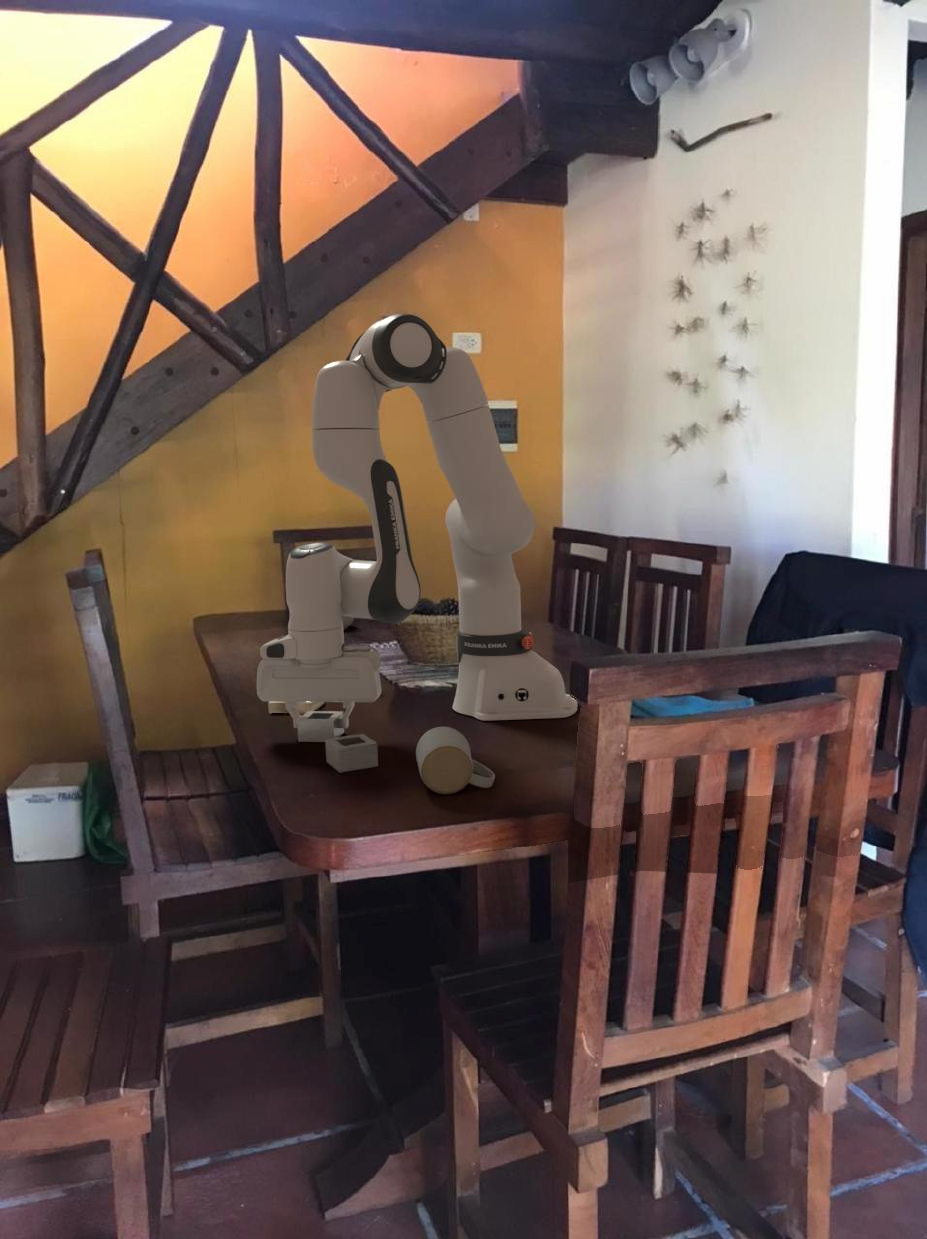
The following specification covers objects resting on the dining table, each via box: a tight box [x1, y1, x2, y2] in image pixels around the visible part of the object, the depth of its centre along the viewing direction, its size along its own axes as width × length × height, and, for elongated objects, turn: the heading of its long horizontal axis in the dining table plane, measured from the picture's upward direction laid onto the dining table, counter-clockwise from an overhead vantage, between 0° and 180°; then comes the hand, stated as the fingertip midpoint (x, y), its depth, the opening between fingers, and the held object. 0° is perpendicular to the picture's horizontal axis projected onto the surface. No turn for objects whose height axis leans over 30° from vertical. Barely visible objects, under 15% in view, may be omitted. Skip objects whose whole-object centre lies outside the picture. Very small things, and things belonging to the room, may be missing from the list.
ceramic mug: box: [415, 726, 496, 795], centre depth 133 cm, size 11×8×8 cm
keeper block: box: [267, 701, 325, 715], centre depth 178 cm, size 8×8×7 cm
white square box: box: [324, 733, 379, 774], centre depth 144 cm, size 6×6×4 cm
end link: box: [297, 710, 345, 743], centre depth 159 cm, size 6×6×4 cm
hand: (321, 727), depth 159 cm, fingers closed on end link, 6 cm apart
